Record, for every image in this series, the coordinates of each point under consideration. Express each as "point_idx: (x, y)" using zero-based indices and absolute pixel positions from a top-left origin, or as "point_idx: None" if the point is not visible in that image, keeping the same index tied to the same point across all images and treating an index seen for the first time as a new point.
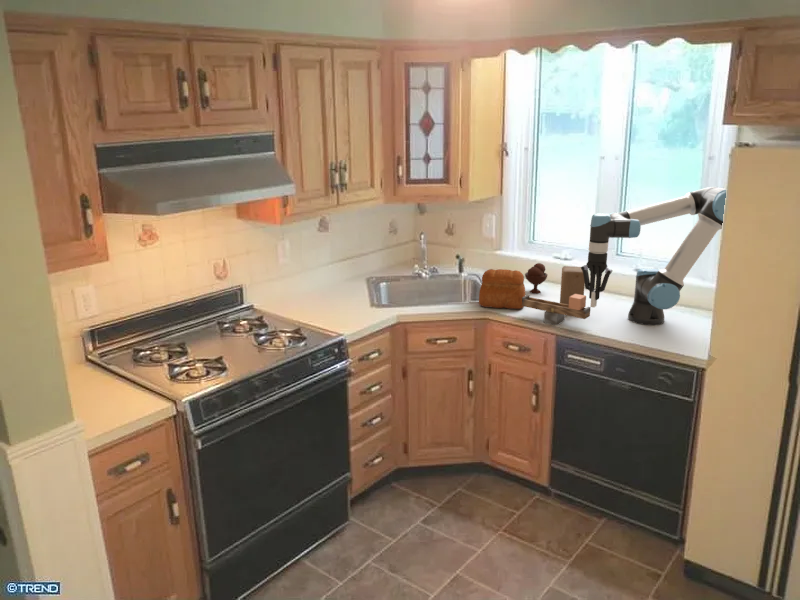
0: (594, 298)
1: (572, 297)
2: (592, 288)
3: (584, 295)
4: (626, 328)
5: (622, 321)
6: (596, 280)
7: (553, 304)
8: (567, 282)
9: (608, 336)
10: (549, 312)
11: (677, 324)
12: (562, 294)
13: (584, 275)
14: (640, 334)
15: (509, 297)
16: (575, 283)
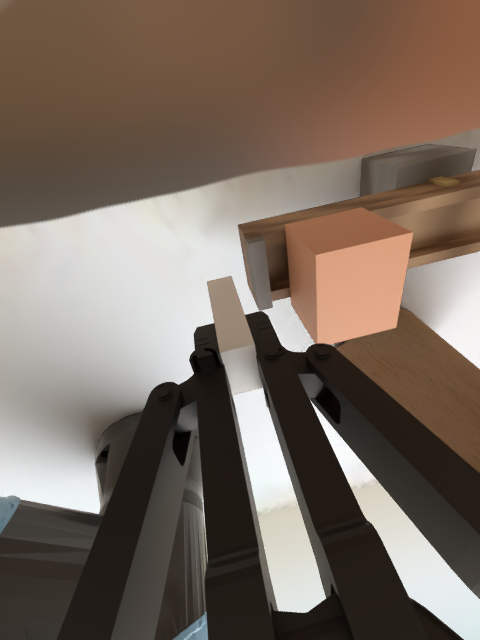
0: (214, 318)
1: (386, 242)
2: (263, 376)
3: (329, 343)
4: (131, 356)
5: None
6: (239, 481)
7: (462, 239)
8: None
9: (93, 224)
10: (447, 163)
11: (71, 476)
12: (456, 355)
13: (459, 476)
14: (44, 346)
15: None
16: (445, 433)
